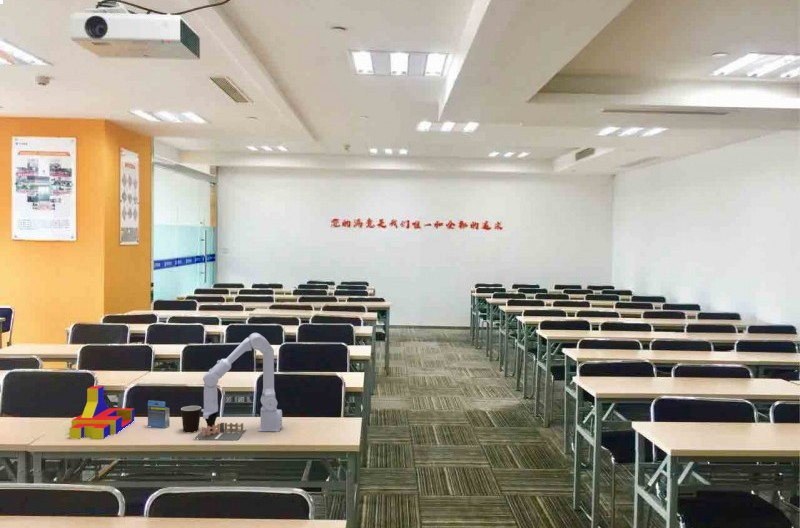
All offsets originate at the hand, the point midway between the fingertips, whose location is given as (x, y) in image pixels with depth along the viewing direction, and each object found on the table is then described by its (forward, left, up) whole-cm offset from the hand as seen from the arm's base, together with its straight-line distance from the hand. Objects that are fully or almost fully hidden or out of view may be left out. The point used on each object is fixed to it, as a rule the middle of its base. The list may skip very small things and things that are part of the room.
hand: (210, 430), depth 253 cm
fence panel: (-1, +2, -1) cm, 2 cm away
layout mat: (-4, +1, -2) cm, 5 cm away
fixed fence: (-8, -2, -2) cm, 9 cm away
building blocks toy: (+51, -4, -2) cm, 51 cm away
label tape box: (+27, -10, -2) cm, 29 cm away
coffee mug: (+11, -7, -2) cm, 13 cm away
